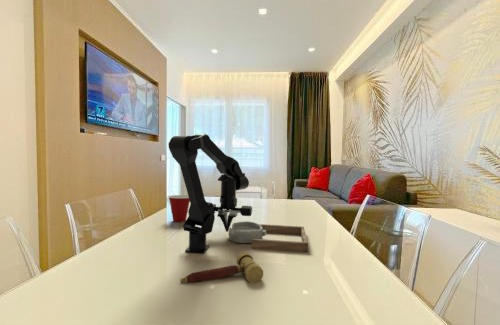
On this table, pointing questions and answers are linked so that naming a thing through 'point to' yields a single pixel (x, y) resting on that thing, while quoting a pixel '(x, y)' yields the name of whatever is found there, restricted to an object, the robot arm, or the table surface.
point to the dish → (246, 232)
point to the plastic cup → (179, 207)
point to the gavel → (229, 271)
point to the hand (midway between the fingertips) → (227, 231)
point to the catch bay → (282, 244)
